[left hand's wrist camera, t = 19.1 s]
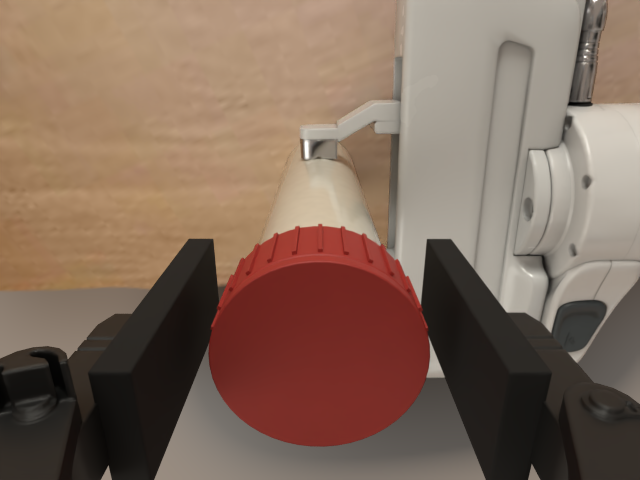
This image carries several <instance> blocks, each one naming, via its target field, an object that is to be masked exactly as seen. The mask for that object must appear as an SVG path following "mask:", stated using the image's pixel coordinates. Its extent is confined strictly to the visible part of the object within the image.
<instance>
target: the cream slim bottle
mask: <svg viewBox="0 0 640 480" xmlns="http://www.w3.org/2000/svg"><path fill="white" fill-rule="evenodd" d="M318 224H322V226H329V227H336V228H341V226H344V227H345V229H346V230H349V231H353V232H356V233H358V234H360V235H362V234H363V233H364V234H366V235H367V238H369V239H370V240H372V241H374V242H376V243H377V244H378V245H379V246H381V243H380V240H379V237H378V234H377V231H376V228H375V225H374V222H373V219H372V217H371V214H370V211H369V208H368V205H367V202H366V199H365V196H364V193H363V190H362V187H361V184H360V181H359V179H358V176H357V173H356V170H355V167H354V164H353V161H352V158H351V156H350V154H349V153H348V151H347V150H346V149H345V148H344V147H343V146H342V145H341V144H339V143H338V142H337V159H322V158H321V157H317V158H316V159H312V160H306V159H301V148H300V144H299V145H298V146H296V147H295V148H294V150H293V151H292V152H291V154H290V155H289V157H288V160H287V163H286V165H285V168H284V171H283V174H282V177H281V180H280V183H279V186H278V189H277V191H276V194H275V197H274V200H273V203H272V206H271V209H270V212H269V214H268V217H267V220H266V223H265V226H264V229H263V232H262V235H261V237H260V240H259V243H258V244H259V245H261V244H262V243H264V242H265V241H267V240H269V239H270V238H272V237H273V235H274V234H275V233H278V234H281V233H284V232H286V231H289V230H293V229H295V226H299V227H300V228H302V227H311V226H318Z"/></svg>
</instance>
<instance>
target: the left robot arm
mask: <svg viewBox="0 0 640 480" xmlns="http://www.w3.org/2000/svg"><path fill="white" fill-rule="evenodd" d="M218 304H219V297H218V286H217V275H216V264H215V253H214V243H213V239H189V240H188V241H187V242H186V243H185V245H184V246H183V247H182V249H181V250H180V251H179V253H178V254H177V255H176V257H175V258H174V259H173V261H172V262H171V263H170V265H169V266H168V267H167V269H166V270H165V271H164V273H163V274H162V275H161V276H160V278H159V279H158V280H157V282H156V283H155V284H154V286H153V287H152V288H151V290H150V291H149V292H148V294H147V295H146V296H145V298H144V299H143V300H142V302H141V303H140V304H139V306H138V307H137V308H136V309H135V311H134V312H133V313H132V314H114V315H113V316H111V317H110V318H108V319H106V320H105V321H103V322H102V323H100V324H98V325H97V326H96V328H95V329H94V330H93V331H92V332H91V333H90V335H89V336H88V337H87V340H84V342H83V343H82V344H81V345H80V346H79V347H78V351H75V352H74V353H73V354H72V356H71V357H70V358H69V359H67V355H66V353H65V352H64V351H62V350H61V349H59V348H55V347H49V346H45V347H33V348H29V349H25V350H21V351H17V352H14V353H12V354H10V355H8V356H5V357H3V358H1V359H0V480H101V478H102V476H103V474H104V472H105V471H106V469H107V467H108V465H109V469H110V473H111V477H112V480H154V478H155V476H156V474H157V471H158V469H159V466H160V464H161V461H162V458H163V456H164V454H165V451H166V449H167V446H168V444H169V441H170V438H171V436H172V434H173V431H174V429H175V426H176V424H177V421H178V419H179V416H180V414H181V411H182V409H183V406H184V404H185V401H186V399H187V396H188V394H189V391H190V389H191V386H192V384H193V381H194V379H195V376H196V374H197V371H198V369H199V366H200V364H201V361H202V359H203V356H204V354H205V351H206V349H207V346H208V344H209V341H210V337H211V332H212V330H211V325H212V323H213V321H214V318H215V316H216V313H217V311H218V310H217V307H218ZM421 307H422V309H423V311H421V312H422V314H423V317H424V319H425V322H426V324H427V326H428V331H427V332H428V336H429V339H430V341H431V344H432V346H433V349H434V351H435V354H436V356H437V359H438V361H439V364H440V366H441V369H442V371H443V374H444V376H445V379H446V381H447V384H448V386H449V389H450V391H451V394H452V396H453V399H454V401H455V404H456V406H457V409H458V411H459V414H460V416H461V419H462V421H463V424H464V426H465V429H466V431H467V434H468V436H469V439H470V441H471V444H472V446H473V449H474V451H475V454H476V456H477V459H478V461H479V464H480V466H481V468H482V471H483V473H484V476H485V478H486V480H528V477H529V473H530V469H531V464H532V465H533V466H534V468H535V470H536V472H537V474H538V476H539V478H540V480H640V404H639V403H637V402H636V401H635V400H633V399H632V398H631V397H629V396H628V395H626V394H624V393H622V392H620V391H618V390H616V389H614V388H611V387H608V386H604V385H601V384H597V383H594V382H593V381H592V380H591V379H590V378H589V377H588V375H587V374H586V373H585V372H584V371H583V370H582V368H581V367H580V366H579V365H578V364H577V363H576V362H575V360H574V359H573V358H572V357H571V356H570V355H569V353H568V352H567V351H566V350H565V349H563V346H562V345H561V344H560V343H559V342H558V341H557V340H556V339H554V336H553V335H552V334H551V333H550V331H549V330H548V329H547V328H546V327H545V326H544V325H543V323H541V322H539V321H538V320H536V319H535V318H533V317H531V316H530V315H528V314H527V313H525V312H506V311H505V309H504V308H503V307H502V306H501V304H500V303H499V302H498V300H497V299H496V298H495V296H494V295H493V294H492V292H491V291H490V290H489V288H488V287H487V286H486V284H485V283H484V282H483V280H482V279H481V278H480V276H479V275H478V274H477V273H476V271H475V270H474V269H473V267H472V266H471V265H470V263H469V262H468V261H467V259H466V258H465V257H464V255H463V254H462V253H461V251H460V250H459V249H458V247H457V246H456V245H455V243H454V242H453V241H452V240H451V239H427V243H426V253H425V264H424V275H423V286H422V297H421Z"/></svg>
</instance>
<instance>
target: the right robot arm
mask: <svg viewBox="0 0 640 480" xmlns="http://www.w3.org/2000/svg"><path fill="white" fill-rule="evenodd" d="M607 13H608V1H607V0H396V10H395V38H394V67H393V95H392V100H370V101H368V102H366V103H365V104H363V105H362V106H360V107H358V108H357V109H355V110H354V111H352V112H350V113H349V114H347V115H346V116H344V117H342V118H341V119H339V120H338V121H336V124H308V125H301V126H300V148H301V159H306V160H312V159H316V158H317V157H321V158H322V159H337V140H338V142H340V141H341V140H343V139H345V138H346V137H348V136H350V135H352V134H353V133H355V132H357V131H358V130H360V129H362V128H363V127H365V126H367V125H368V124H370V127H371V128H372V129H373V130H374V132H375V133H376V134H391V152H390V181H389V209H388V238H387V249H386V251H387V252H388V253H389V254H390V255H391V256H392V257H393V258H394V260H396V259H398V260H399V261H400V264H401V266H402V269H403V271H404V274H405V276H409V278H410V281H411V283H412V285H413V288H414V290H415V293H416V295H417V297H418V300H419V302H420V304H421V297H422V286H423V275H424V264H425V253H426V243H427V239H451V240H452V241H453V242H454V243H455V245H456V246H457V247H458V249H459V250H460V251H461V253H462V254H463V255H464V257H465V258H466V259H467V261H468V262H469V263H470V265H471V266H472V267H473V269H474V270H475V271H476V273H477V274H478V275H479V276H480V278H481V279H482V280H483V282H484V283H485V284H486V286H487V287H488V288H489V290H490V291H491V292H492V294H493V295H494V296H495V298H496V299H497V300H498V302H499V303H500V304H501V306H502V307H503V308H504V309H505V311H506V312H525V313H527V314H528V315H530V316H531V317H533V318H535V319H536V320H538V321H539V322H541V323H543V325H544V326H545V327H546V328H547V329H548V330H549V331H550V333H551V334H552V335H553V336H554V339H556V340H557V341H558V342H559V343H560V344H561V345H562V346H563V349H565V350H566V351H567V352H568V353H569V355H570V356H571V357H572V358H573V359H574V360H575V362H576V363H578V362H579V361H580V360H581V359H582V357H583V356H584V355H585V353H586V352H587V350H588V348H589V347H590V345H591V343H592V342H593V340H594V338H595V337H596V335H597V334H598V332H599V330H600V329H601V327H602V326H603V324H604V323H605V321H606V320H607V318H608V317H609V316H610V314H611V313H612V311H613V310H614V309H615V307H616V306H617V305H618V304H619V302H620V301H621V300H622V298H623V297H624V296H625V295H626V294H627V293H628V292H629V290H630V289H631V288H632V287H633V286H634V285H635V283H636V282H637V281H638V279H639V278H640V103H612V104H593V103H591V99H592V94H593V89H594V83H595V78H596V73H597V65H598V62H597V61H598V56H597V54H598V48H599V41H600V38H601V33H602V31H604V28H605V24H606V20H607ZM428 337H429V336H428ZM429 343H430V363H429V370H428V373H427V377H426V378H445V376H444V374H443V371H442V369H441V366H440V364H439V361H438V359H437V356H436V354H435V351H434V349H433V346H432V344H431V341H430V339H429Z"/></svg>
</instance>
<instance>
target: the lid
mask: <svg viewBox="0 0 640 480" xmlns="http://www.w3.org/2000/svg"><path fill="white" fill-rule="evenodd" d="M217 310H218V311H217V313H216V316H215V318H214V321H213V323H212V325H211V330H212V332H211V337H210V341H209V365H210V370H211V374H212V378H213V380H214V383H215V385H216V388H217V390H218V391H219V393H220V395H221V397H222V398H223V400H224V401H225V403H226V404H227V405H228V406H229V408H230V409H231V410H232V411H233V412H234V413H235V414H236V415H237V416H238V417H239V418H240V419H241V420H243V421H244V422H245V423H247V424H248V425H249V426H251V427H252V428H254V429H256V430H258V431H259V432H261V433H263V434H265V435H268V436H270V437H272V438H275V439H278V440H281V441H284V442H288V443H292V444H297V445H304V446H335V445H342V444H347V443H351V442H355V441H358V440H362V439H364V438H367V437H369V436H372V435H374V434H376V433H378V432H380V431H381V430H383V429H385V428H387V427H388V426H389V425H391V424H392V423H394V422H395V421H396V420H398V419H399V418H400V417H401V416H402V415H403V414H404V413H405V412H406V411H407V410H408V409H409V407H410V406H411V405H412V404H413V403H414V401H415V400H416V398H417V396H418V395H419V393H420V392H421V389H422V387H423V385H424V383H425V380H426V377H427V373H428V370H429V363H430V343H429V337H428V332H427V331H428V326H427V324H426V322H425V319H424V317H423V314H422V312H421V311H423V309H422V307H421V304H420V302H419V300H418V297H417V295H416V293H415V290H414V288H413V285H412V283H411V281H410V278H409V276H405V274H404V271H403V269H402V266H401V264H400V261H399V260H398V259H396V260H394V258H393V257H392V256H391V255H390V254H389V253H388V252H387V251H386V248H385V246H384V245H383V244H382V245H381V246H379V245H378V244H377V243H376V242H374V241H372V240H370V239H369V238H367V235H366V234H364V233H363V234H362V235H360V234H358V233H356V232H353V231H349V230H346V229H345V227H344V226H341V228H336V227H329V226H322V224H318V226H311V227H302V228H300V227H299V226H295V229H293V230H289V231H286V232H284V233H281V234H278V233H275V234H274V235H273V237H272V238H270V239H269V240H267V241H265V242H264V243H262V244H261V245H259V244H256V245H255V247H254V250H253V251H252V252H251V253H250V254H249V255H248V256H247V257H246V259H244V258H242V259H241V260H240V262H239V265H238V267H237V270H236V272H235V274H234V275H231V276H230V278H229V281H228V283H227V285H226V288H225V290H224V293H223V295H222V297H221V300H220V302H219V304H218V307H217Z"/></svg>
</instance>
